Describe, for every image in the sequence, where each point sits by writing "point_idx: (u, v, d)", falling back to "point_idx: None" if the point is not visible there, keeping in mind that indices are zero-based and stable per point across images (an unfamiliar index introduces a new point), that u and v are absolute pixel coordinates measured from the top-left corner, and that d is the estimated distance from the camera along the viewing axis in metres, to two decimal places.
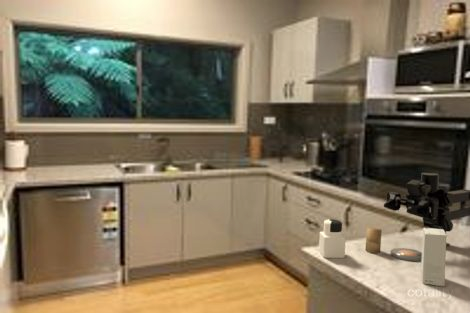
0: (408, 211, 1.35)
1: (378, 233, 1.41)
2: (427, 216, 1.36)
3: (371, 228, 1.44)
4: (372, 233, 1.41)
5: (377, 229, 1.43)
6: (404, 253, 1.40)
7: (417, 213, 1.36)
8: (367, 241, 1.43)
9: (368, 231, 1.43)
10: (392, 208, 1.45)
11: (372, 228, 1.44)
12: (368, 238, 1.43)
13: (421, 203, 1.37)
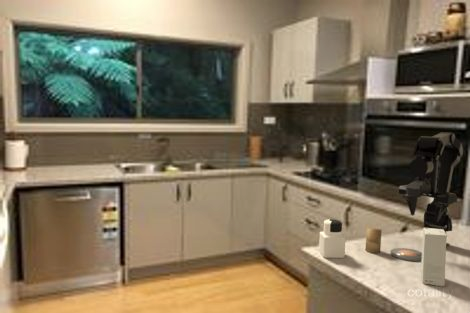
0: (437, 220, 1.36)
1: (378, 233, 1.41)
2: None
3: (371, 228, 1.44)
4: (372, 233, 1.41)
5: (377, 229, 1.43)
6: (404, 253, 1.40)
7: (443, 211, 1.35)
8: (367, 241, 1.43)
9: (368, 231, 1.43)
10: (416, 201, 1.44)
11: (372, 228, 1.44)
12: (368, 238, 1.43)
13: (437, 205, 1.33)
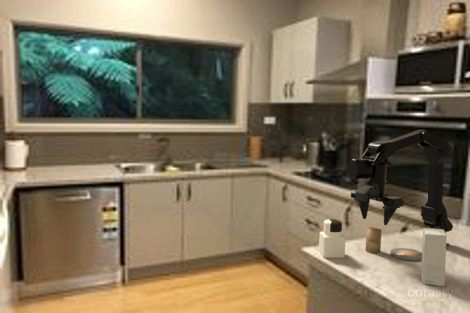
0: (386, 224, 1.39)
1: (378, 233, 1.41)
2: None
3: (371, 228, 1.44)
4: (372, 233, 1.41)
5: (377, 229, 1.43)
6: (404, 253, 1.40)
7: (391, 214, 1.38)
8: (367, 241, 1.43)
9: (368, 231, 1.43)
10: (368, 205, 1.48)
11: (372, 228, 1.44)
12: (368, 238, 1.43)
13: (385, 209, 1.37)
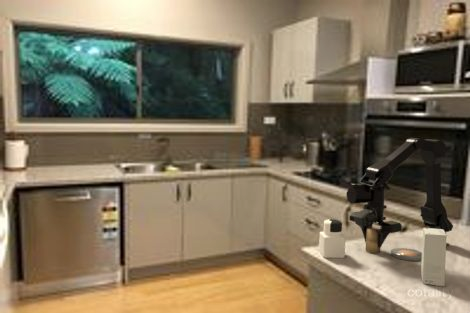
0: (380, 246, 1.42)
1: None
2: None
3: (371, 228, 1.44)
4: (372, 233, 1.41)
5: None
6: (404, 253, 1.40)
7: (384, 237, 1.41)
8: (367, 241, 1.43)
9: (368, 231, 1.43)
10: None
11: (372, 228, 1.44)
12: (368, 238, 1.43)
13: (378, 232, 1.39)
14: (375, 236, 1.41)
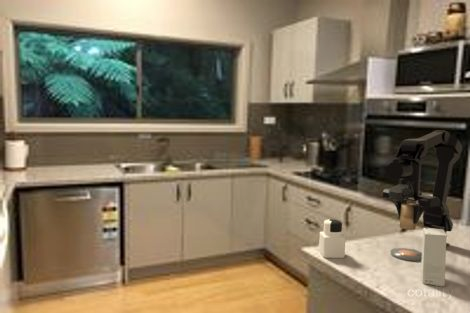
0: (415, 223, 1.37)
1: (413, 209, 1.36)
2: None
3: (406, 204, 1.39)
4: (407, 209, 1.37)
5: None
6: (404, 253, 1.40)
7: (421, 213, 1.36)
8: (402, 217, 1.38)
9: (403, 207, 1.38)
10: None
11: (407, 204, 1.39)
12: (403, 214, 1.38)
13: (415, 208, 1.34)
14: (411, 212, 1.36)
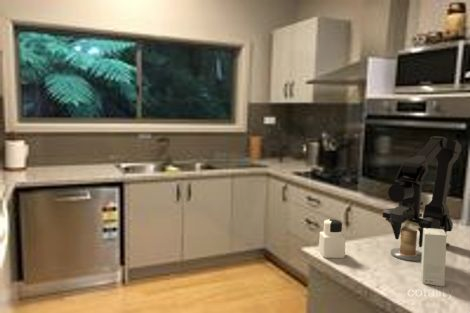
0: (421, 246, 1.36)
1: (413, 235, 1.37)
2: None
3: (406, 229, 1.40)
4: (407, 235, 1.37)
5: (412, 230, 1.39)
6: None
7: None
8: (402, 243, 1.39)
9: (403, 233, 1.38)
10: (400, 225, 1.44)
11: (407, 229, 1.40)
12: (403, 240, 1.38)
13: (420, 231, 1.33)
14: (411, 238, 1.37)
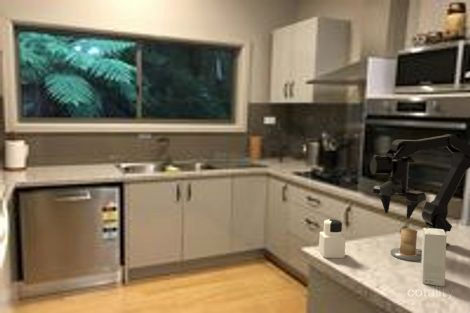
0: (408, 217, 1.47)
1: (413, 235, 1.37)
2: None
3: (406, 229, 1.40)
4: (407, 234, 1.37)
5: (412, 230, 1.39)
6: None
7: (413, 208, 1.46)
8: (402, 243, 1.39)
9: (403, 232, 1.38)
10: (389, 200, 1.55)
11: (407, 229, 1.40)
12: (403, 240, 1.38)
13: (408, 203, 1.44)
14: (411, 238, 1.37)
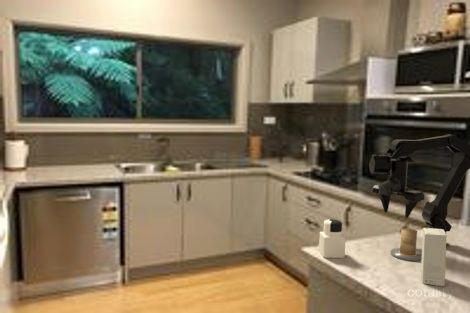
0: (407, 217, 1.48)
1: (413, 235, 1.37)
2: None
3: (406, 229, 1.40)
4: (407, 234, 1.37)
5: (412, 230, 1.39)
6: None
7: (412, 208, 1.47)
8: (402, 243, 1.39)
9: (403, 232, 1.38)
10: (389, 199, 1.57)
11: (407, 229, 1.40)
12: (403, 240, 1.38)
13: (406, 203, 1.45)
14: (411, 238, 1.37)
